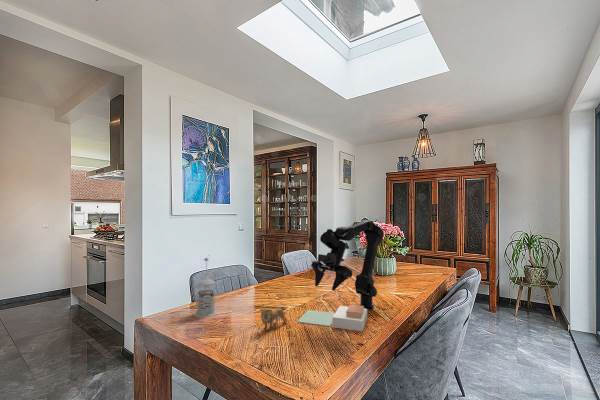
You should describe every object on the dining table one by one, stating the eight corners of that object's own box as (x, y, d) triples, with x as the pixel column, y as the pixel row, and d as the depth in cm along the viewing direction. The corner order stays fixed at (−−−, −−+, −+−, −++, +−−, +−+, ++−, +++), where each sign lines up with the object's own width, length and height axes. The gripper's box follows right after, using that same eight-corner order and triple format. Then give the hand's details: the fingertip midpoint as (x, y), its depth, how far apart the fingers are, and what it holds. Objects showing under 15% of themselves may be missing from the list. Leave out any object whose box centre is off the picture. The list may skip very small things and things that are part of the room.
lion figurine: (268, 335, 113) (268, 311, 114) (257, 332, 116) (257, 308, 116) (289, 322, 126) (289, 300, 127) (278, 320, 129) (278, 298, 129)
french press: (210, 318, 130) (211, 260, 131) (185, 316, 132) (186, 259, 133) (220, 310, 140) (221, 256, 140) (197, 309, 142) (198, 255, 143)
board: (339, 314, 135) (339, 305, 136) (367, 318, 132) (367, 308, 132) (332, 327, 121) (332, 317, 121) (362, 331, 117) (362, 321, 117)
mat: (308, 310, 140) (308, 310, 140) (337, 314, 136) (337, 313, 136) (297, 322, 126) (297, 321, 126) (329, 326, 122) (329, 325, 122)
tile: (349, 309, 131) (349, 304, 131) (364, 310, 129) (363, 306, 129) (346, 316, 123) (346, 311, 123) (361, 318, 121) (361, 313, 121)
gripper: (310, 243, 133) (296, 276, 127) (343, 247, 119) (330, 285, 113) (324, 254, 139) (312, 286, 133) (358, 259, 126) (346, 295, 120)
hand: (324, 288), depth 125 cm, fingers open, 9 cm apart
